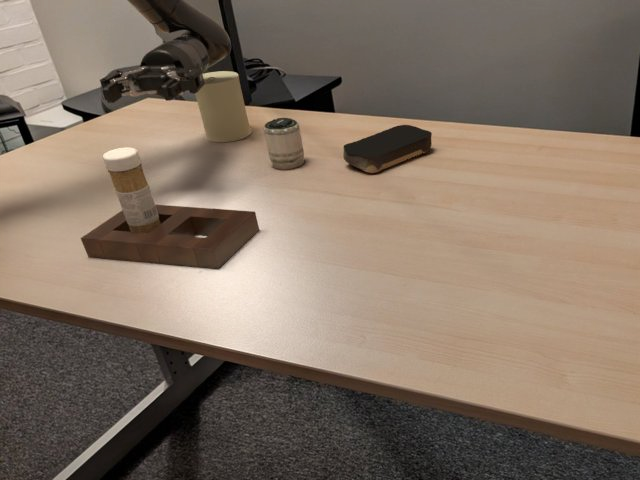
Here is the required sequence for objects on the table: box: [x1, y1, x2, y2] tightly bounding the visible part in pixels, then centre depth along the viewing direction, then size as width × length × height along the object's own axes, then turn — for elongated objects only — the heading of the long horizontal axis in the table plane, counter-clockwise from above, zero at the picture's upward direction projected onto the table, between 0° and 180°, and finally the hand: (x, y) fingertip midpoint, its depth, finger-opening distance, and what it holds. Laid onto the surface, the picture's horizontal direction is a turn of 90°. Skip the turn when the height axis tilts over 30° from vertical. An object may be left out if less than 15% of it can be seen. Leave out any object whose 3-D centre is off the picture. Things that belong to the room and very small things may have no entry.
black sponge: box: [343, 124, 433, 174], centre depth 119 cm, size 16×8×4 cm, turn 136°
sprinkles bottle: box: [102, 147, 161, 233], centre depth 93 cm, size 5×5×13 cm
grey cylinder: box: [262, 117, 305, 170], centre depth 118 cm, size 6×6×8 cm
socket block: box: [80, 204, 260, 270], centre depth 95 cm, size 21×12×3 cm, turn 76°
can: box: [194, 70, 253, 143], centre depth 132 cm, size 9×9×12 cm
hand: (136, 94), depth 95 cm, fingers open, 8 cm apart
